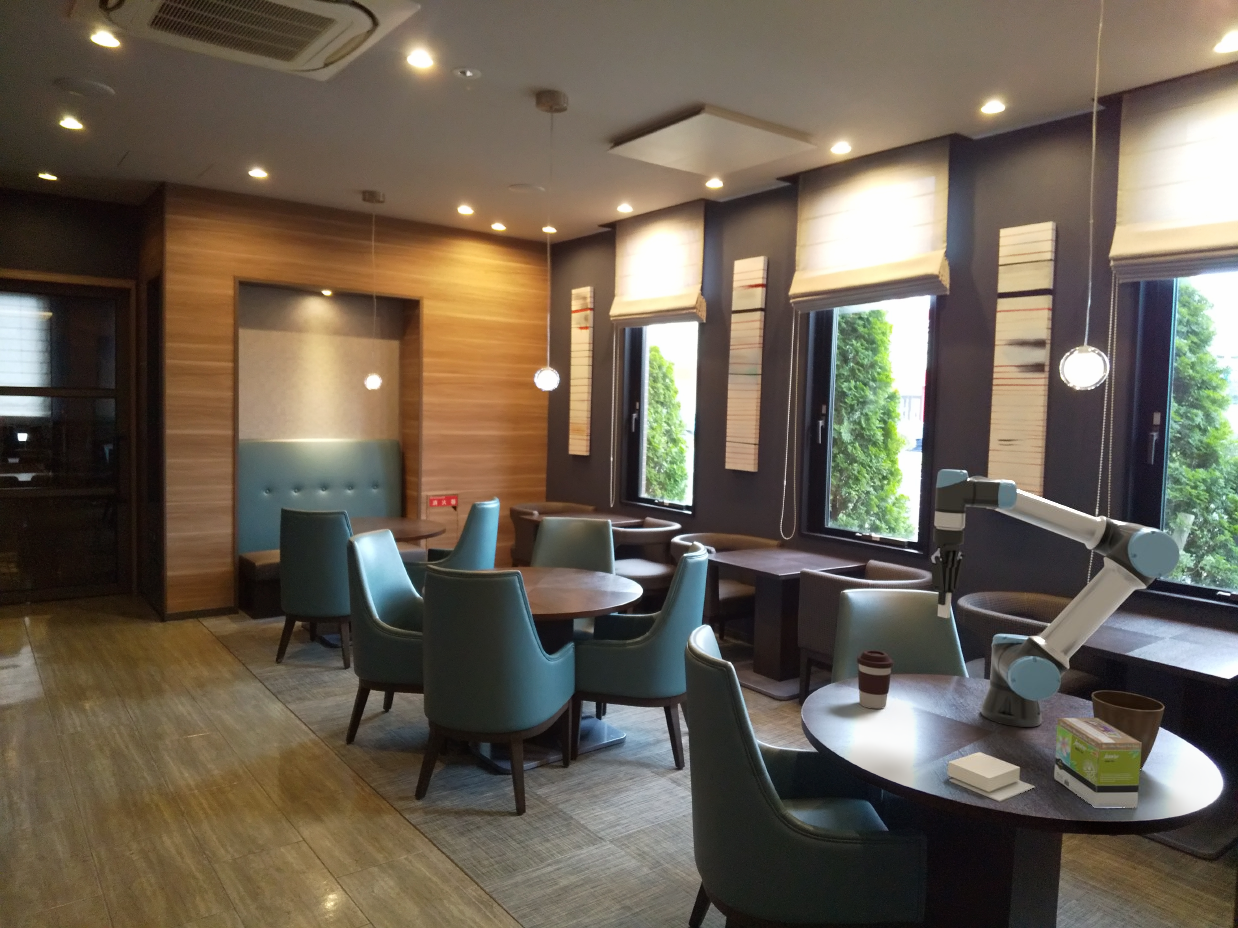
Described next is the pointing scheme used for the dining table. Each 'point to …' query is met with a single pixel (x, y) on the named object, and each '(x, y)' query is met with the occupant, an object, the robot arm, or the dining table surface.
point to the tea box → (1098, 762)
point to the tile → (983, 771)
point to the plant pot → (1130, 716)
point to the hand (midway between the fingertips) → (943, 616)
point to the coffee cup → (874, 678)
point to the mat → (998, 793)
